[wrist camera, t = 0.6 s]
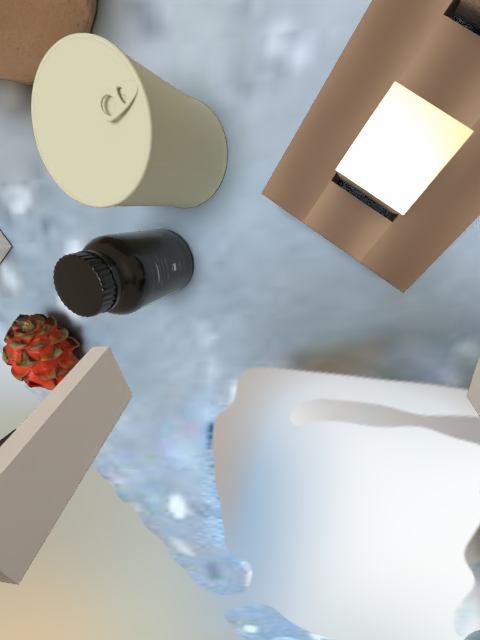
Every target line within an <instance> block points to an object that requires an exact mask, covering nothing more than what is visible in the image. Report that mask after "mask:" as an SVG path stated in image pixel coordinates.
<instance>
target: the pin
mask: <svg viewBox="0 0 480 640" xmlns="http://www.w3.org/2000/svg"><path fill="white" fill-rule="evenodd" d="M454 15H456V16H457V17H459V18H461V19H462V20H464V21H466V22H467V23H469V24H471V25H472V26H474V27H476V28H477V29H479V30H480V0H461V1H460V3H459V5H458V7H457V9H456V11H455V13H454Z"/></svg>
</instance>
